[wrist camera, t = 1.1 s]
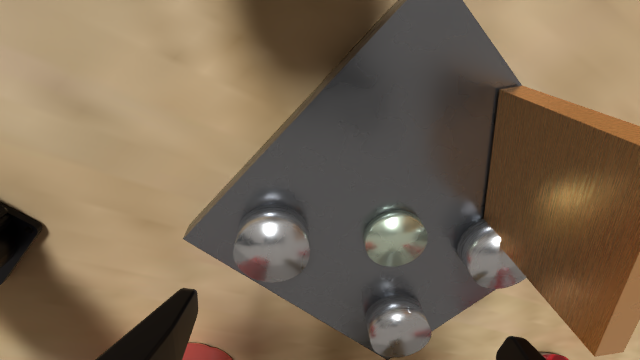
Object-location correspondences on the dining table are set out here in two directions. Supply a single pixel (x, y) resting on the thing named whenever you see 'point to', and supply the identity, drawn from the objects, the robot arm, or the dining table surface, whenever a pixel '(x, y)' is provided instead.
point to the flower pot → (204, 353)
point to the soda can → (553, 356)
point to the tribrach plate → (373, 182)
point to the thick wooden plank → (563, 214)
